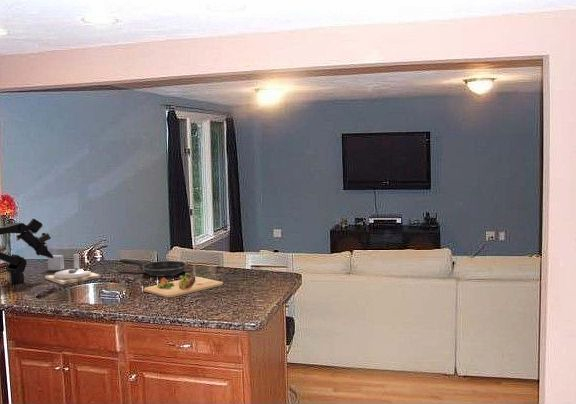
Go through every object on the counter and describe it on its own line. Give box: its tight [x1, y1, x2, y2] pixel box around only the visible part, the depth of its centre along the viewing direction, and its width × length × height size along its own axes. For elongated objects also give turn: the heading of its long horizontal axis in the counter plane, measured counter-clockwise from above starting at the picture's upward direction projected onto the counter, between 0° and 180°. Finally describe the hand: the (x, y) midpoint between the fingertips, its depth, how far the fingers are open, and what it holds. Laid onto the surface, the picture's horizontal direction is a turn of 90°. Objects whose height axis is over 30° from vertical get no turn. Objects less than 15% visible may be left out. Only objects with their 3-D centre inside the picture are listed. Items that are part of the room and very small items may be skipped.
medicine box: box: [47, 254, 65, 271], centre depth 355 cm, size 8×4×9 cm, turn 84°
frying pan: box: [119, 258, 188, 277], centre depth 342 cm, size 44×25×7 cm, turn 67°
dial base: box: [44, 271, 101, 285], centre depth 331 cm, size 22×22×2 cm
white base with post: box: [54, 253, 92, 279], centre depth 330 cm, size 19×19×10 cm
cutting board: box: [143, 272, 224, 298], centre depth 302 cm, size 35×23×8 cm
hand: (53, 257), depth 332 cm, fingers closed
